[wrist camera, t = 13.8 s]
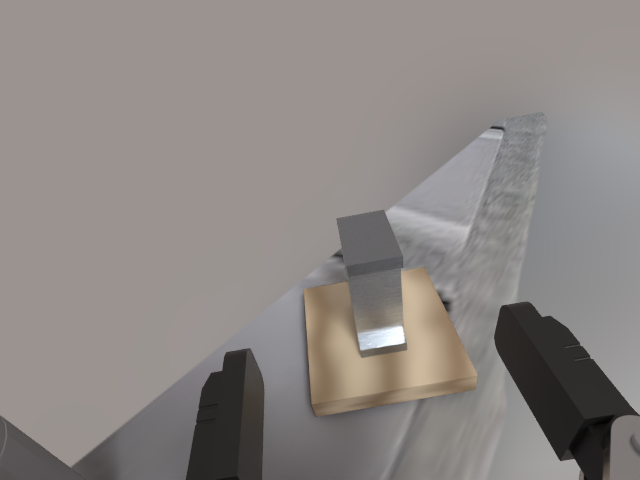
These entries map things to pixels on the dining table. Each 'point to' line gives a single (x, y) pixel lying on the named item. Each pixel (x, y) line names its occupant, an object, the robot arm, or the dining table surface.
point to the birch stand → (387, 369)
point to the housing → (374, 282)
